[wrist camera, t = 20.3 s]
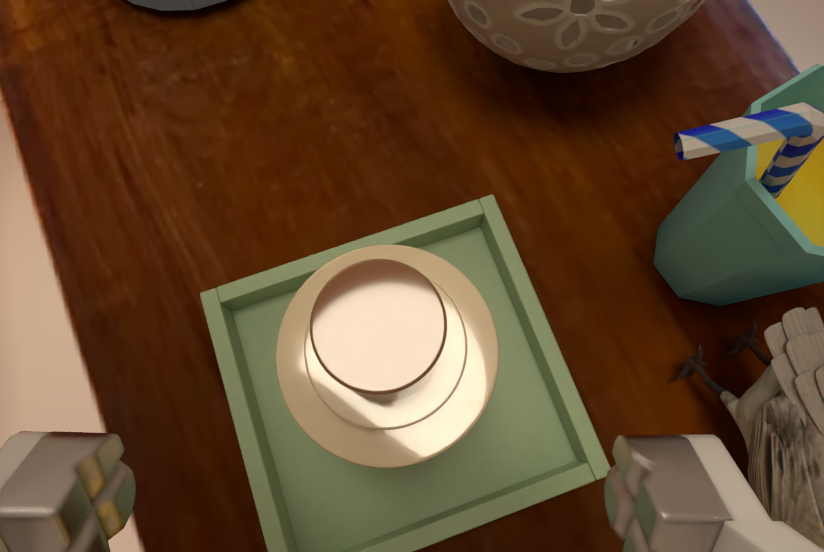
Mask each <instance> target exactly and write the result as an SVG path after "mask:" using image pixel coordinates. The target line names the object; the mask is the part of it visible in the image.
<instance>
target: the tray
mask: <svg viewBox="0 0 824 552" xmlns="http://www.w3.org/2000/svg"><path fill="white" fill-rule="evenodd" d="M375 245H403V246H410V247H414V248H418V249H422V250H425V251H427V252H430V253H433V254H435V255H437V256H439V257H441V258H443V259H445V260H447V261H448V262H449V263H451V264H452V265H454V266H455V267H457V268H458V269H459V270H460V271H461V272H462V273H463V274H465V275H466V276H467V277H468V278H469V279H470V280H471V282H472V283H473V284H474V285H475V286H476V288H477V289H478V290H479V292H480V293H481V295H482V296H483V298H484V299H485V301H486V303H487V305H488V307H489V310H490V312H491V314H492V317H493V320H494V323H495V326H496V331H497V336H498V341H499V367H498V374H497V379H496V384H495V387H494V390H493V393H492V396H491V399H490V401H489V403H488V405H487V407H486V409H485V411H484V413H483V414H482V415H481V417H480V418H479V420H478V421H477V423H476V424H475V425H474V427H473V428H472V429H471V430H470V431H469V432H468V433H467V434H466V435H465V436H464V437H463V438H462V439H461V440H460V441H459V442H457V443H456V444H455V445H454V446H453V447H451V448H449V449H448V450H446V451H445V452H443V453H441V454H440V455H438V456H436V457H433V458H431V459H429V460H427V461H424V462H421V463H417V464H414V465H410V466H404V467H398V468H376V467H368V466H362V465H359V464H355V463H351V462H348V461H346V460H344V459H341V458H339V457H337V456H335V455H333V454H331V453H330V452H328V451H326V450H325V449H323V448H322V447H320V446H319V445H318V444H317V443H315V442H314V441H313V440H312V439H311V438H310V437H309V436H308V435H307V434H306V433H305V432H304V431H303V430H302V429H301V428H300V426H299V425H298V423H297V422H296V421H295V419H294V418H293V416H292V415H291V413H290V411H289V409H288V407H287V405H286V403H285V401H284V398H283V395H282V393H281V390H280V386H279V382H278V377H277V370H276V344H277V339H278V333H279V329H280V326H281V323H282V319H283V316H284V314H285V312H286V310H287V308H288V306H289V304H290V302H291V300H292V299H293V297H294V296H295V294H296V292H297V291H298V290H299V289H300V287H301V286H302V285H303V284H304V282H305V281H306V280H307V279H308V278H309V277H310V276H311V275H312V274H314V273H315V272H316V271H317V270H318V269H320V268H321V267H322V266H324V265H325V264H326V263H328V262H329V261H331V260H333V259H335V258H337V257H338V256H340V255H343V254H345V253H348V252H350V251H352V250H356V249H360V248H363V247H368V246H375ZM200 297H201V301H202V305H203V308H204V312H205V316H206V320H207V323H208V327H209V331H210V335H211V339H212V342H213V346H214V350H215V354H216V358H217V361H218V365H219V369H220V373H221V376H222V380H223V384H224V388H225V392H226V395H227V399H228V403H229V407H230V411H231V414H232V418H233V422H234V426H235V429H236V433H237V437H238V441H239V445H240V448H241V452H242V456H243V460H244V464H245V467H246V471H247V475H248V479H249V482H250V486H251V490H252V494H253V498H254V501H255V505H256V509H257V513H258V517H259V520H260V524H261V528H262V532H263V535H264V539H265V543H266V547H267V551H268V552H414V551H417V550H419V549H422V548H424V547H427V546H429V545H432V544H435V543H437V542H440V541H442V540H445V539H447V538H450V537H452V536H455V535H458V534H460V533H463V532H465V531H468V530H470V529H473V528H476V527H478V526H481V525H483V524H486V523H488V522H491V521H494V520H496V519H499V518H501V517H504V516H506V515H509V514H512V513H514V512H517V511H519V510H522V509H524V508H527V507H530V506H532V505H535V504H537V503H540V502H542V501H545V500H548V499H550V498H553V497H555V496H558V495H560V494H563V493H565V492H568V491H571V490H573V489H576V488H578V487H581V486H583V485H586V484H589V483H591V482H594V481H595V480H599V479H601V478H604V477H606V475H607V471H608V470H610V469H611V468H610V465H609V463H608V461H607V458H606V456H605V454H604V451H603V449H602V447H601V444H600V442H599V440H598V437H597V435H596V433H595V430H594V428H593V426H592V423H591V421H590V419H589V416H588V414H587V412H586V409H585V407H584V405H583V402H582V400H581V398H580V395H579V393H578V391H577V388H576V386H575V384H574V381H573V379H572V377H571V374H570V372H569V370H568V367H567V365H566V363H565V360H564V358H563V356H562V353H561V351H560V349H559V346H558V344H557V342H556V339H555V337H554V335H553V332H552V330H551V328H550V325H549V323H548V321H547V318H546V316H545V314H544V311H543V309H542V307H541V304H540V302H539V300H538V297H537V295H536V293H535V290H534V288H533V286H532V283H531V281H530V279H529V276H528V274H527V272H526V269H525V267H524V265H523V262H522V260H521V258H520V255H519V253H518V251H517V248H516V246H515V244H514V241H513V239H512V237H511V234H510V232H509V230H508V227H507V225H506V223H505V220H504V218H503V216H502V213H501V211H500V209H499V206H498V204H497V202H496V199H495V197H494V195H489V196H486V197H483V198H480V199H479V200H478V199H477V200H474V201H471V202H468V203H465V204H462V205H459V206H456V207H453V208H450V209H447V210H444V211H441V212H438V213H435V214H432V215H429V216H426V217H423V218H420V219H417V220H415V221H412V222H409V223H406V224H403V225H400V226H397V227H394V228H391V229H388V230H385V231H382V232H379V233H376V234H373V235H370V236H367V237H364V238H361V239H358V240H355V241H352V242H349V243H346V244H343V245H341V246H338V247H335V248H332V249H329V250H326V251H323V252H320V253H317V254H314V255H311V256H308V257H305V258H302V259H299V260H296V261H293V262H290V263H287V264H284V265H281V266H278V267H275V268H272V269H269V270H267V271H264V272H261V273H258V274H255V275H252V276H249V277H246V278H243V279H240V280H237V281H234V282H231V283H228V284H225V285H222V286H219V287H217V289H216V288H214V289H211V290H208V291H205V292H202V293H200Z"/></svg>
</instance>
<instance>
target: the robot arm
mask: <svg viewBox="0 0 824 552" xmlns="http://www.w3.org/2000/svg"><path fill="white" fill-rule="evenodd" d="M124 450H125V449H124V447H123V445H122V442H121V440H120V437H119V435H115V434H111V433H83V432H29V431H28V432H27V431H21V432H19V433H17V434H15V435H13V436H11V437H10V438H9V439H8V440H7V442H6V443H5V444H4V445H3V446H2V447H1V449H0V552H110V548H109V544H108V540H109V539H110V538H112V537H113V536H114V535H116V534H117V533H118V532H119V531H121V530H122V529H123V528H124V527H125V525H126V523H127V521H128V519H129V516H130V514H131V512H132V508H133V504H134V499H135V495H136V489H135V478H134V475H133V472H132V469H131V468H129V467H128V466H127V465H125V464H124V463H123V462H122V461H120V460H119V459H120V457H121V455H122V454H123V452H124ZM612 454H613V456H614V459H615V462H616V465H615V466H613V467H612V468H611V469H610V470H608V471H607V475H606V480H605V486H604V491H605V506H606V511H607V516H608V520H609V523H610V526H611V529H612V531H613V532H614V533H615V534H616V535H617V536H618V537H619V538H621V539H622V540H623V541H624V542H625V543H624V547H623V551H622V552H824V550H823V549H821V548H820V547H818V546H817V545H816V544H814V543H813V542H811V541H810V540H808V539H807V538H805V537H804V536H803V535H801V534H800V533H798V532H797V531H795V530H794V529H793V528H791V527H790V526H788V525H787V524H785V523H784V522H783V521H772V520H771V518H770V517H769V515H768V514H767V512H766V510H765V509H764V507H763V506H762V504H761V503H760V501H759V500H758V498H757V496H756V495H755V493H754V492H753V490H752V489H751V487H750V485H749V484H748V482H747V481H746V479H745V478H744V476H743V474H742V473H741V471H740V470H739V468H738V467H737V465H736V463H735V462H734V460H733V459H732V457H731V456H730V454H729V452H728V451H727V449H726V448H725V446H724V445H723V443H722V441H721V440H720V439H719V438H718V437H716V436H715V435H619V436H618V437H617V439H616V440H615V442H614V446H613V450H612Z"/></svg>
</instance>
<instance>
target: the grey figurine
mask: <svg viewBox="0 0 824 552" xmlns="http://www.w3.org/2000/svg"><path fill="white" fill-rule="evenodd" d="M756 331H757V324H756V321H755V319H754V321H753V328H752V329H751V330H750V331H747V332H745V333H743V334H741V335H740V336H739V337H738V338H737V339H736V342H735V345H734V347H733V348H732V350H731V351H730V352H729V353H728V354H726V355H722V356H719V357H727V356H730V355H733V354H735V353H740V352H743V351H744V350H745V349H746V347H747V345H748V346H749V348H750V349H751V350H752V351H753V352H754V353H755V355H756V356H757V357H758V358H759V359H760V360H761V361H762V362H763V363H764V364H766V365H767V366H769V367H768V368H767V369H766V370H765V372H764V373H763V374H762V376H761V377H760V378H759V379H758V381H757V382H756V383H755V384H753V385H752V386H751V387H750V388H749V389H748V390H747V391H746V392H745V393H744V394H743V396H742V397H741V398H740V399H738V398H737V397H736V396H734V395H733V394H732V393H730V392H728V391H726V390H725V389H724V388H722V387H720V386H719V385H717V384H716V383H715V382H713V381H712V380H711V379H710V378H709V376H708V375H707V374H706V372H705V371H704V370H703V369H702V367H706V366H707V364H708V362H707V361H706V362H703V361H702V359H701V358H702V356H703V348H702V346H701V344H699V353H698V354H697V355H693V356H692V357H690V358H688V359H687V360H686V361H685V362H684V365H683V369H682V371H681V372H680V374H679V375H678V376H677V378H672V379H669V380H677V379H680V378H683V377H684V376H685V375H686V376H690V375H693V373H694V372H695V370H696V371H697V372H698V374H699V375H700V376H701V377H702V379H703V380H704V381H705V383H706V384H707V385H708V386H709V387H710V388H711V389H712V390H713V391H715V392H716V393H718V394H719V395H720V397H721V400H722V402H723V403H724V404H725V406H726V407H727V409H728V410H729V412H730V413H731V415H732V417H733V418H734V420H735V422H736V424H737V426H738V427H739V429H740V431H741V433H742V435H743V437H744V439H745V443H746V447H747V451H748V455H749V457H748V476H749V485H750V487H751V489H752V490H753V492H754V493H755V495H756V496H757V498H758V500H759V501H760V503H761V504H762V506H763V507H764V509H765V510H766V512H767V514H768V515H769V517H770V518H771V520H772V521H783V522H784V523H785V524H787V525H788V526H790V527H791V528H793V529H794V530H795V531H797V532H798V533H800V534H801V535H803V536H804V537H805V538H807V539H808V540H810V541H811V542H813V543H814V544H816V545H817V546H818V547H820V548H821V549H823V550H824V325H823V322H822V320H821V317H820V315H819V312H818V310H817V308H813V307H812V308H809V309H807V310H806V311H805V309H804V308H794V309H792V310H790V311H788V312H787V313H785V314H784V315H783V317H782V322H779V323H776V324H774V325H772V326H769V327H768V328H767V329H766V330H765V332H764V335H765V339H766V342H767V345H768V347H769V349H770V351H771V353H772V355H773V357H774V358H773V359H772V360H771V359H770V358H768V357H767V356H765V355H764V354H763V353H762V352H761V351H760V349H759V348H758V347H757V346H756V345H755V344H756V343H757V342H758V340H759V339H757V338H754V334H755V333H756ZM738 350H739V351H738ZM687 373H688V374H687Z"/></svg>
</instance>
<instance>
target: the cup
mask: <svg viewBox="0 0 824 552" xmlns="http://www.w3.org/2000/svg"><path fill="white" fill-rule="evenodd" d="M674 145H675V150H676V154H677V156H678V158H679V160H680V161H682V160H687V159H692V158H696V157H701V156H706V155H710V154H715V153H720V152H722V153H721V154H720V155H719V156H718V157H717V158H716V160H715V161H714V162H713V163H712V164H711V166H710V167H709V168H708V169H707V170H706V172H705V173H704V174H703V175H702V176H701V177H700V179H699V180H698V181H697V182H696V183H695V185H694V186H693V187H692V188H691V189H690V190H689V192H688V193H687V194H686V195H685V196H684V198H683V199H682V200H681V201H680V202H679V203H678V205H677V206H676V207H675V208H674V209H673V211H672V212H671V213H670V214H669V215H668V216H667V218H666V219H665V220H664V221H663V222H662V224H661V225H660V226H659V227H658V231H657V239H656V247H655V254H654V262H653V265H654V266H655V267H656V269H657V270H658V271H659V273H660V274H661V275H662V276H663V278H664V279H665V280H666V282H667V283H668V284H669V286H670V287H671V288H672V289H673V291H674V292H675V293H676V295H677V296H678V297H679V298H684V299H688V300H693V301H698V302H702V303H707V304H711V305H716V306H723V305H727V304H731V303H735V302H740V301H744V300H748V299H752V298H756V297H761V296H765V295H769V294H773V293H778V292H782V291H786V290H790V289H794V288H799V287H803V286H807V285H811V284H815V283H820V282H824V66H823V65H818V64H816V65H814V66H812V67H811V68H809V69H807V70H806V71H804V72H802V73H801V74H799V75H798V76H796V77H794V78H793V79H791V80H789V81H788V82H786V83H784V84H783V85H781V86H780V87H778V88H776V89H775V90H773V91H771V92H770V93H768V94H766V95H765V96H763V97H762V98H760V99H758V100H757V101H755V102H753V103H752V104H751V105H750V106H749V108H748V109H747V111H746V112H745V113H744V115H743V116H742V117H739V118H735V119H731V120H727V121H723V122H719V123H714V124H710V125H706V126H702V127H698V128H694V129H690V130H685V131H681V132H677V133H674Z"/></svg>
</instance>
